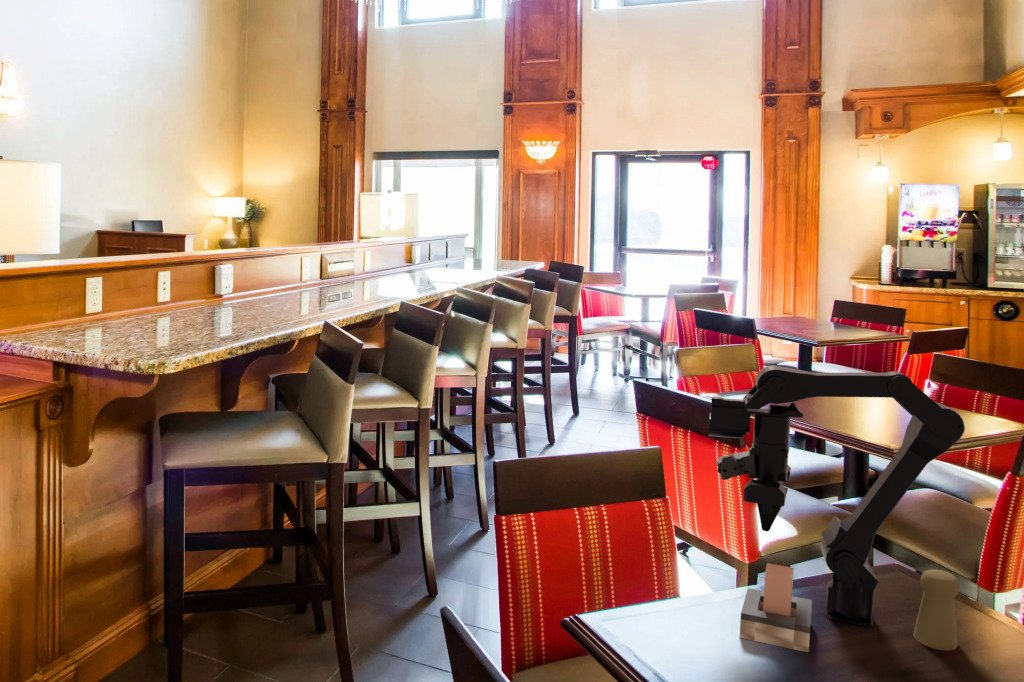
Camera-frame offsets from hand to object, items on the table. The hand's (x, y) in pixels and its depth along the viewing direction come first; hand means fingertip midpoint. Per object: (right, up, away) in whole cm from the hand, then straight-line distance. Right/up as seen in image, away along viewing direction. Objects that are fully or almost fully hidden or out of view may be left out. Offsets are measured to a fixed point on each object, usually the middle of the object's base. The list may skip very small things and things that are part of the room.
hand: (765, 530), depth 123 cm
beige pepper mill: (+23, -15, -10) cm, 29 cm away
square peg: (-1, -14, -8) cm, 16 cm away
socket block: (-1, -14, -8) cm, 16 cm away
